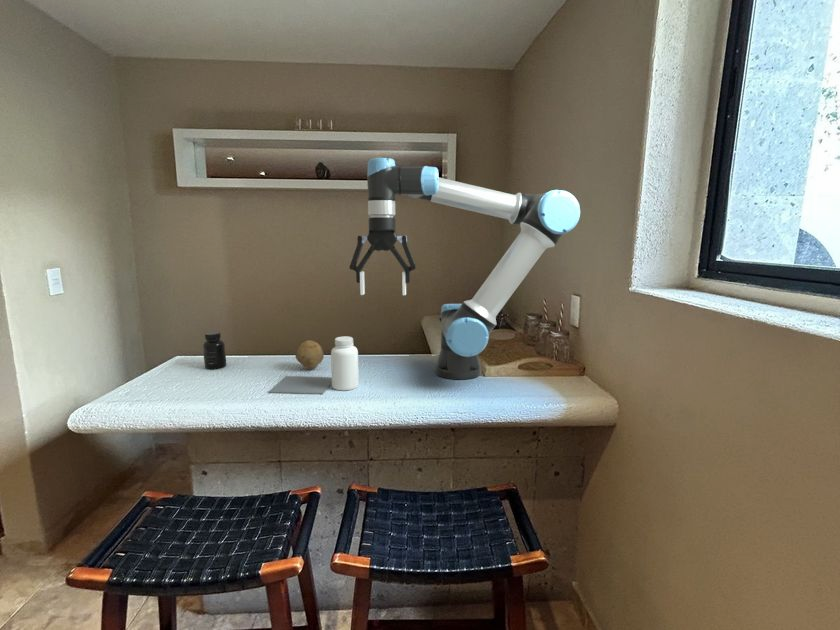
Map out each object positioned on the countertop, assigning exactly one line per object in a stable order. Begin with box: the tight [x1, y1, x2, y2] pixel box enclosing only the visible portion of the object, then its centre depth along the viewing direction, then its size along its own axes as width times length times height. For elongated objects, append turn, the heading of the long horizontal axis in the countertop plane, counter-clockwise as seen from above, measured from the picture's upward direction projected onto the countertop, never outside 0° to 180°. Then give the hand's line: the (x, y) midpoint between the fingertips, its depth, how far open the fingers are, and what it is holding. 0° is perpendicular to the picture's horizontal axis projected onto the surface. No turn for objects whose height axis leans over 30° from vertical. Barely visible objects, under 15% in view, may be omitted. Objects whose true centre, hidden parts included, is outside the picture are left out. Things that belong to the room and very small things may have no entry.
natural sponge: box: [295, 339, 325, 370], centre depth 151 cm, size 9×9×10 cm
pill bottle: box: [330, 335, 360, 391], centre depth 134 cm, size 8×8×15 cm
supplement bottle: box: [202, 331, 227, 371], centre depth 153 cm, size 7×7×12 cm
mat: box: [267, 375, 332, 395], centre depth 136 cm, size 16×14×1 cm
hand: (383, 294), depth 129 cm, fingers open, 11 cm apart
